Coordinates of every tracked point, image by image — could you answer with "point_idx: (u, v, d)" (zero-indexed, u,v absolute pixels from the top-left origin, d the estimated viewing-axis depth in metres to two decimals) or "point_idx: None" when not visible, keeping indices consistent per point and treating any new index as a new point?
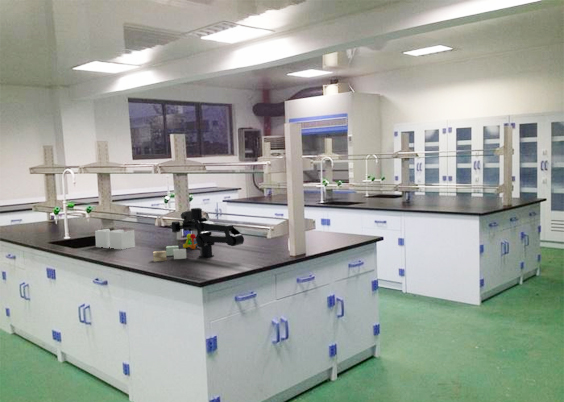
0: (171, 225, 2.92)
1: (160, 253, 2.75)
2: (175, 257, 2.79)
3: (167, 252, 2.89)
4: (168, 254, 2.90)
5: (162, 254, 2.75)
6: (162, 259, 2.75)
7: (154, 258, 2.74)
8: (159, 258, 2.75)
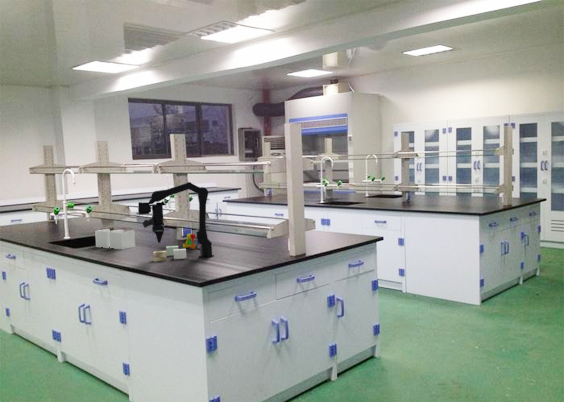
0: (158, 239, 2.70)
1: (160, 253, 2.75)
2: (175, 257, 2.79)
3: (167, 252, 2.89)
4: (168, 254, 2.90)
5: (162, 254, 2.75)
6: (162, 259, 2.75)
7: (154, 258, 2.74)
8: (159, 258, 2.75)
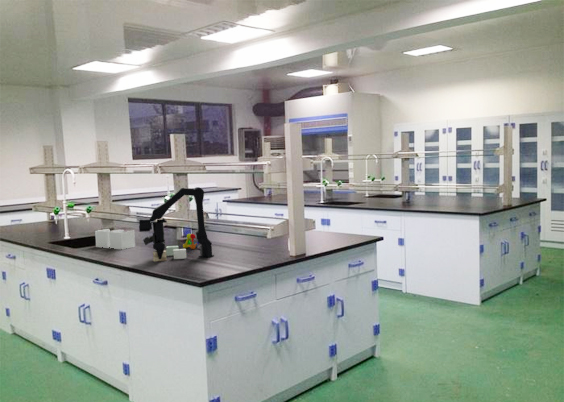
0: (158, 255, 2.74)
1: None
2: (175, 257, 2.79)
3: (167, 252, 2.89)
4: (168, 254, 2.90)
5: None
6: (162, 259, 2.75)
7: (154, 258, 2.74)
8: None
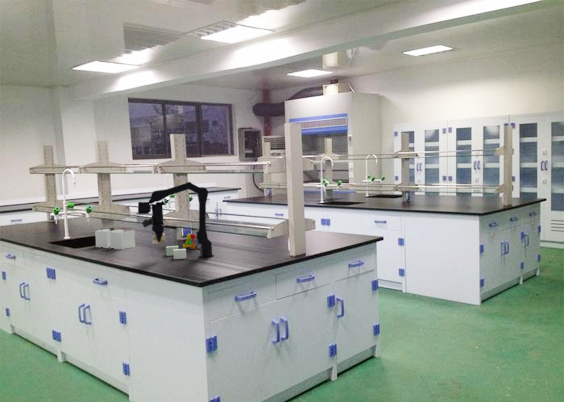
0: (157, 238, 2.73)
1: None
2: (175, 257, 2.79)
3: (167, 252, 2.89)
4: (168, 254, 2.90)
5: None
6: (161, 241, 2.74)
7: (153, 240, 2.73)
8: None
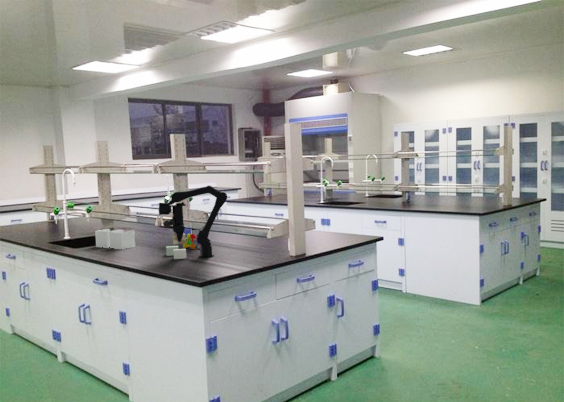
0: (178, 238, 2.77)
1: None
2: (175, 257, 2.79)
3: (167, 252, 2.89)
4: (168, 254, 2.90)
5: None
6: (181, 242, 2.79)
7: (174, 241, 2.78)
8: None
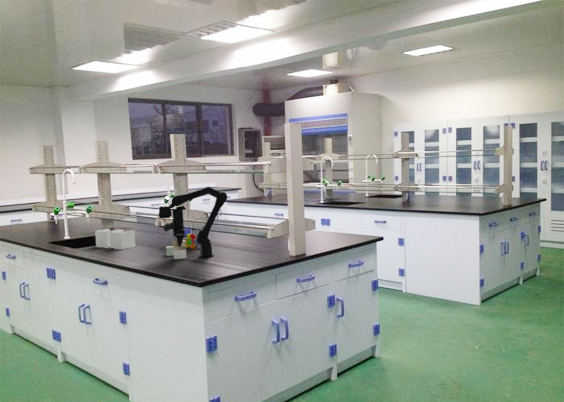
0: (178, 242, 2.75)
1: None
2: (175, 257, 2.79)
3: (167, 252, 2.89)
4: (168, 254, 2.90)
5: None
6: (181, 248, 2.79)
7: (174, 247, 2.78)
8: (178, 247, 2.79)
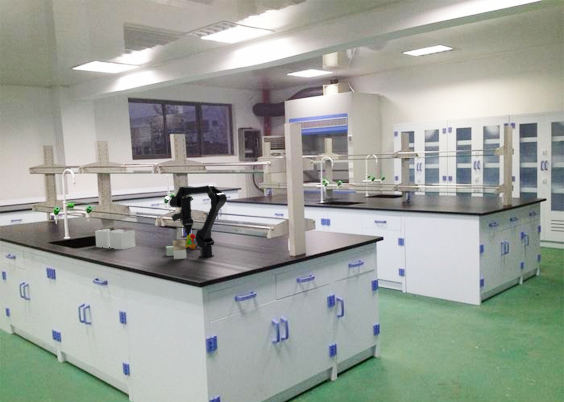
0: (187, 232, 2.84)
1: (180, 242, 2.79)
2: (175, 257, 2.79)
3: (167, 252, 2.89)
4: (168, 254, 2.90)
5: (182, 243, 2.79)
6: (181, 248, 2.79)
7: (174, 247, 2.78)
8: (179, 247, 2.79)
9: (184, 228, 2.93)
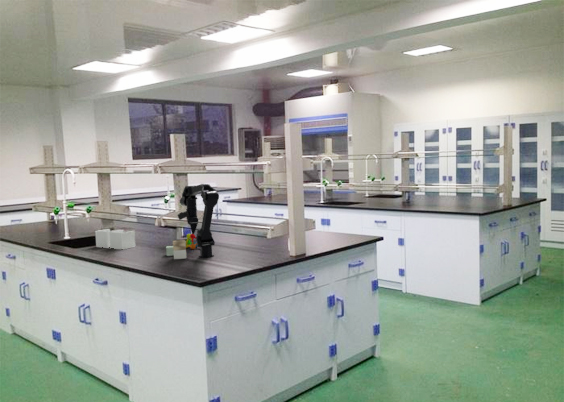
0: (192, 230, 2.90)
1: (180, 242, 2.79)
2: (175, 257, 2.79)
3: (167, 252, 2.89)
4: (168, 254, 2.90)
5: (182, 243, 2.79)
6: (182, 248, 2.79)
7: (174, 247, 2.78)
8: (179, 247, 2.79)
9: None
